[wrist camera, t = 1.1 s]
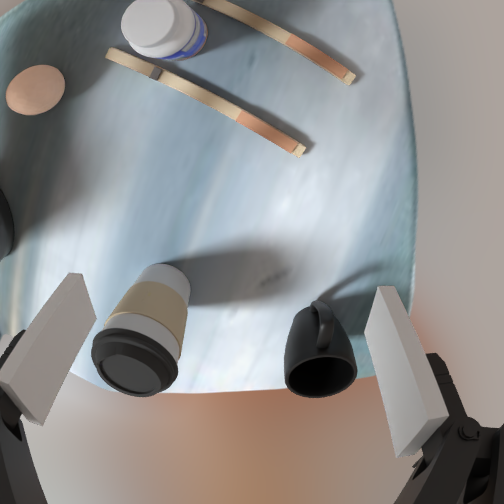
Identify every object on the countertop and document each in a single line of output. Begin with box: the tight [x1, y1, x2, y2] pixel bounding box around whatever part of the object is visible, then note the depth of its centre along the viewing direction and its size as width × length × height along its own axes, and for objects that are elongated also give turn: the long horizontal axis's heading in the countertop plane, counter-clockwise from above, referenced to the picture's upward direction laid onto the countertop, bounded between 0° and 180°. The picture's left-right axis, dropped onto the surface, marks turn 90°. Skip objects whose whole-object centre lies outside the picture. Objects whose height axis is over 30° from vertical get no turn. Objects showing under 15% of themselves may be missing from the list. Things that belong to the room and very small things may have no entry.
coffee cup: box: [91, 264, 191, 397], centre depth 33 cm, size 9×9×15 cm
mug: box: [284, 301, 358, 398], centre depth 37 cm, size 8×12×10 cm
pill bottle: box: [121, 0, 208, 61], centre depth 21 cm, size 5×5×10 cm
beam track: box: [105, 0, 356, 158], centre depth 26 cm, size 22×10×1 cm, turn 59°
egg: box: [6, 65, 65, 115], centre depth 24 cm, size 5×5×8 cm
